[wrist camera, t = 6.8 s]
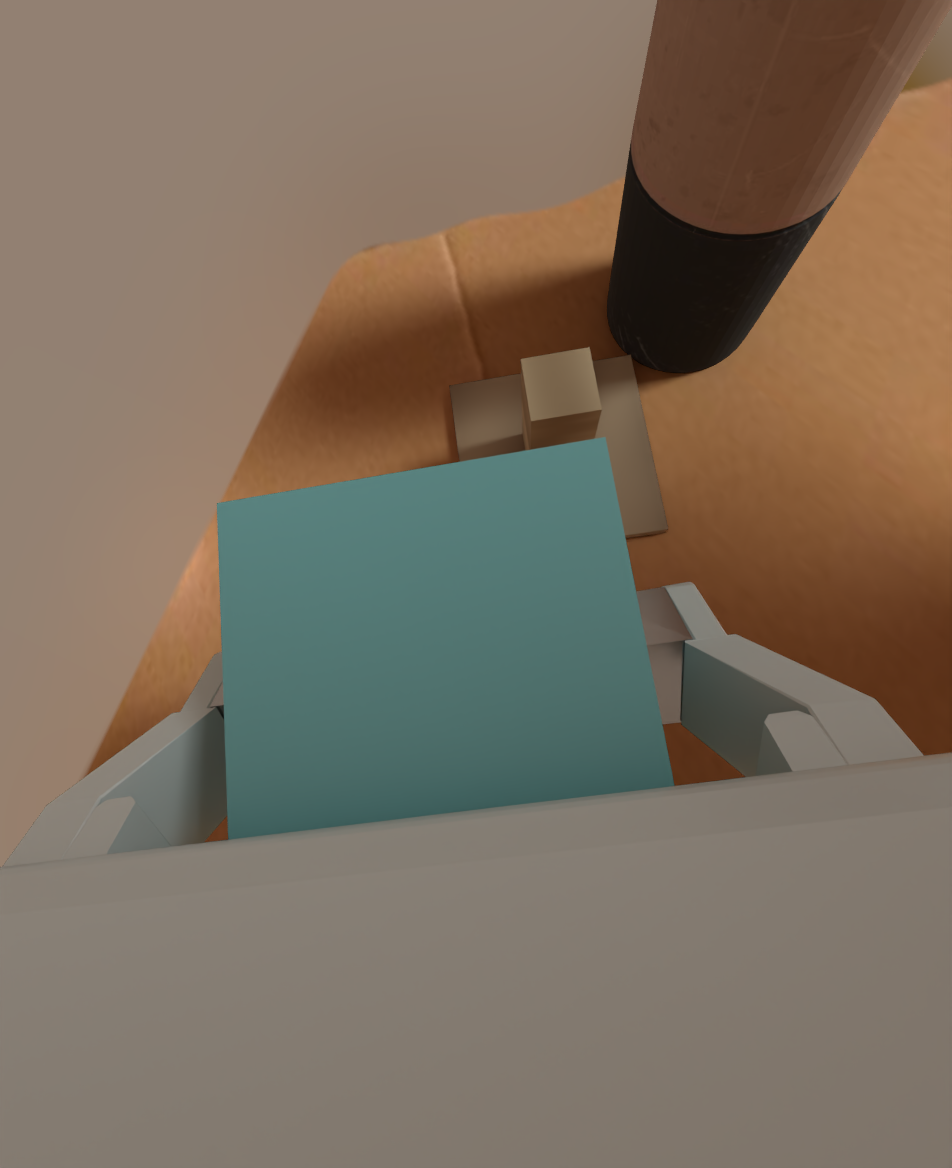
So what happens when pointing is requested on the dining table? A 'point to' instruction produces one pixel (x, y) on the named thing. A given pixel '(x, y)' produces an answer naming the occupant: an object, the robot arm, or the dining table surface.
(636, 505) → the flat square base
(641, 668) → the teal rectangular block
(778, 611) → the dining table surface
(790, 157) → the travel mug
